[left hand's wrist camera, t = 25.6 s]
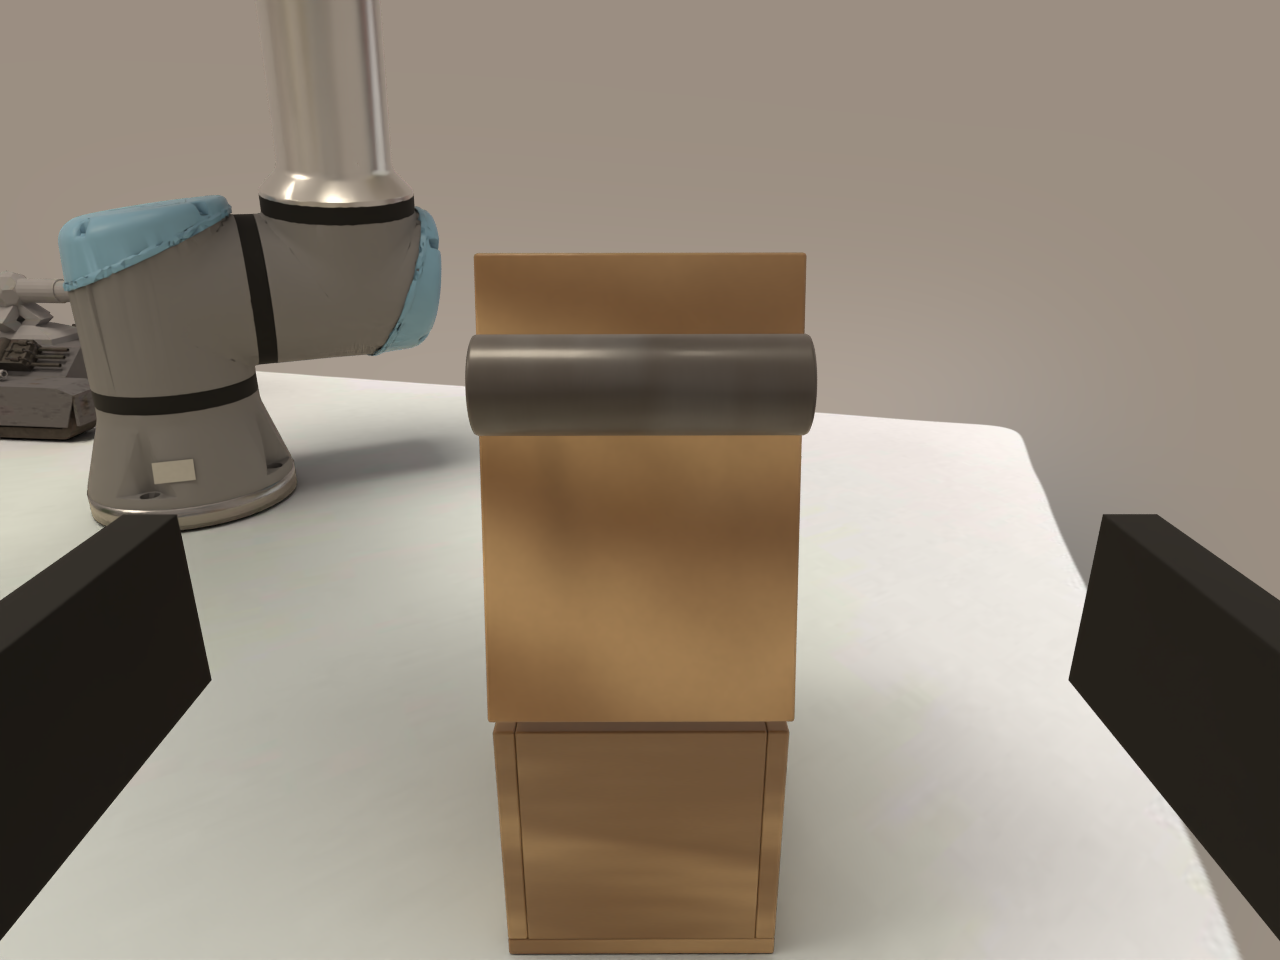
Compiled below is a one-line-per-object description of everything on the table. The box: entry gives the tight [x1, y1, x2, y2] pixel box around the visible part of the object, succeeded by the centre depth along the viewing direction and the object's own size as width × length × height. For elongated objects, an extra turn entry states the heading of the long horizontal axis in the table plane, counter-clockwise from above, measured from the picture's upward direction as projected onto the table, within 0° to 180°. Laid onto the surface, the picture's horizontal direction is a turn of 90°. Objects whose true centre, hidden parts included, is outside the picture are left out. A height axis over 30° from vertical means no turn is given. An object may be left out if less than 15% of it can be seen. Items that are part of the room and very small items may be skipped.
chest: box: [493, 721, 789, 954], centre depth 35 cm, size 13×9×10 cm
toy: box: [0, 271, 97, 439], centre depth 92 cm, size 25×20×15 cm
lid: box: [465, 253, 817, 722], centre depth 22 cm, size 14×9×10 cm
